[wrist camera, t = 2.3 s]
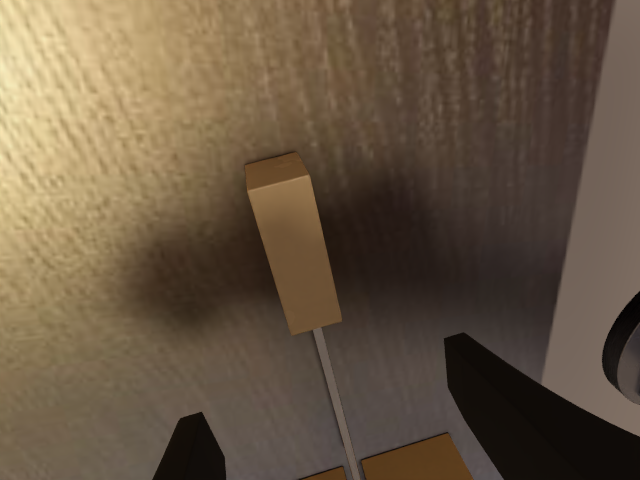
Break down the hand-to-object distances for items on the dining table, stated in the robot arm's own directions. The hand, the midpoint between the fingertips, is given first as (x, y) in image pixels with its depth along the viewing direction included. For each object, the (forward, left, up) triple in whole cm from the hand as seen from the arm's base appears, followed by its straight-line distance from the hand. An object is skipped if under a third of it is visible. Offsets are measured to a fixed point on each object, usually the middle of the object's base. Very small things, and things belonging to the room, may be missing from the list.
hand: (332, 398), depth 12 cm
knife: (0, +4, -8) cm, 9 cm away
